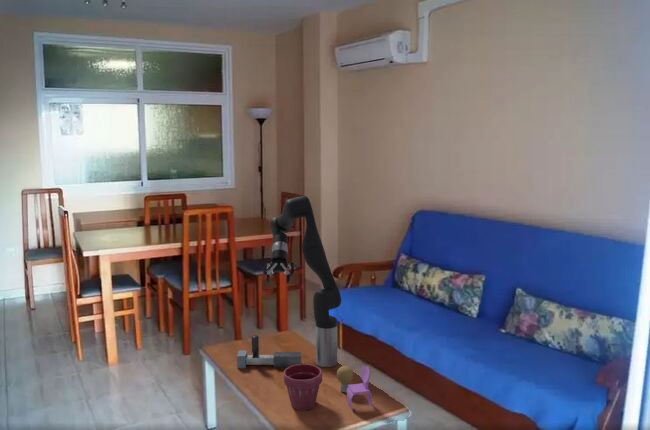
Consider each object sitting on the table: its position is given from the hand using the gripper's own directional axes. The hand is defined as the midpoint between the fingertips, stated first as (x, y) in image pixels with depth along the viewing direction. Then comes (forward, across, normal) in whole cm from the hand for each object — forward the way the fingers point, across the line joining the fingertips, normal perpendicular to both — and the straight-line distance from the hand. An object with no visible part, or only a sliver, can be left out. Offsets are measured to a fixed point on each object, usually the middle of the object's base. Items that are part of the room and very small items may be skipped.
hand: (278, 283), depth 254 cm
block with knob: (+36, -5, +6) cm, 37 cm away
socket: (+36, -15, +7) cm, 40 cm away
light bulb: (+53, +29, -10) cm, 62 cm away
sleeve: (+36, +5, +7) cm, 37 cm away
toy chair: (+62, +34, -18) cm, 73 cm away
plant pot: (+60, +13, -17) cm, 64 cm away
